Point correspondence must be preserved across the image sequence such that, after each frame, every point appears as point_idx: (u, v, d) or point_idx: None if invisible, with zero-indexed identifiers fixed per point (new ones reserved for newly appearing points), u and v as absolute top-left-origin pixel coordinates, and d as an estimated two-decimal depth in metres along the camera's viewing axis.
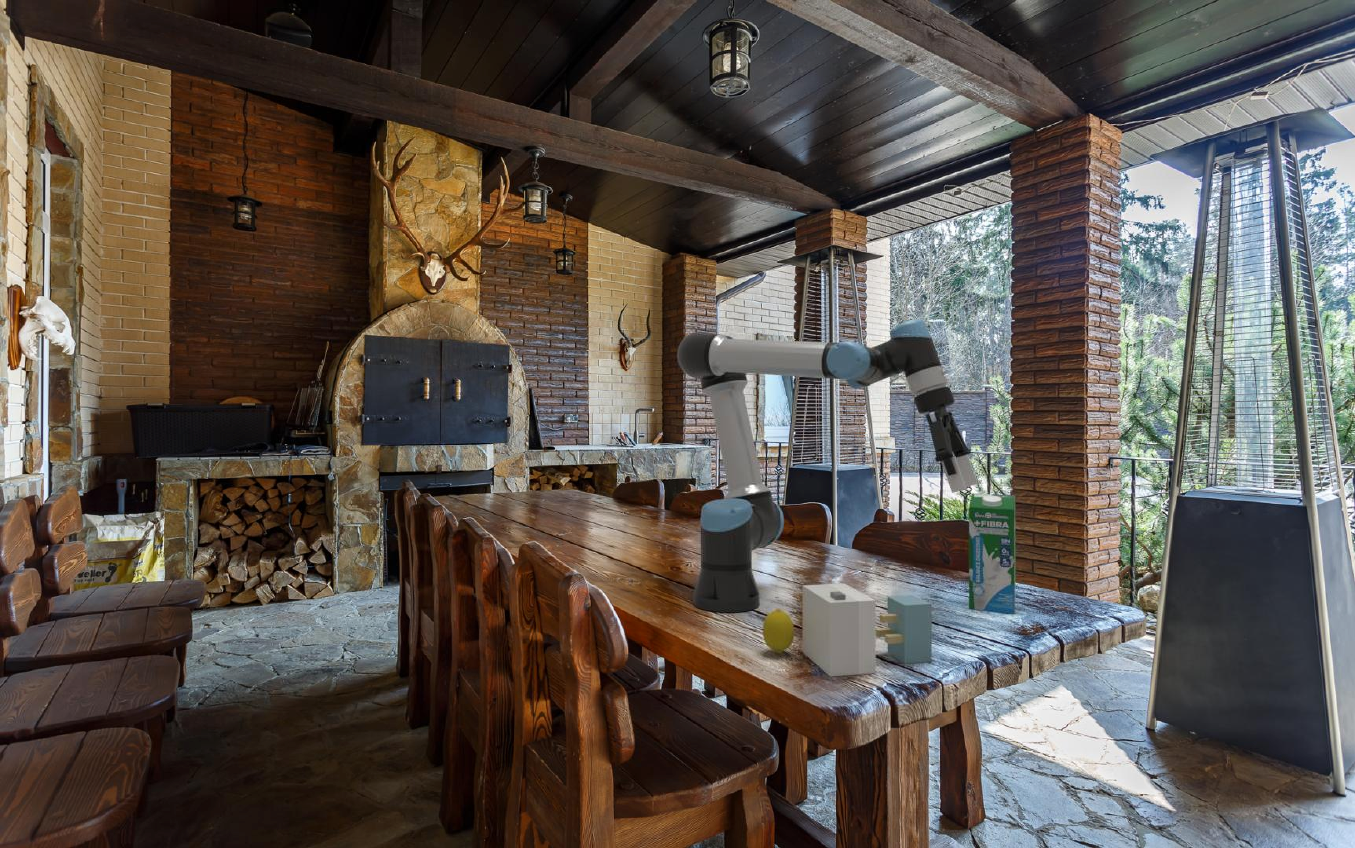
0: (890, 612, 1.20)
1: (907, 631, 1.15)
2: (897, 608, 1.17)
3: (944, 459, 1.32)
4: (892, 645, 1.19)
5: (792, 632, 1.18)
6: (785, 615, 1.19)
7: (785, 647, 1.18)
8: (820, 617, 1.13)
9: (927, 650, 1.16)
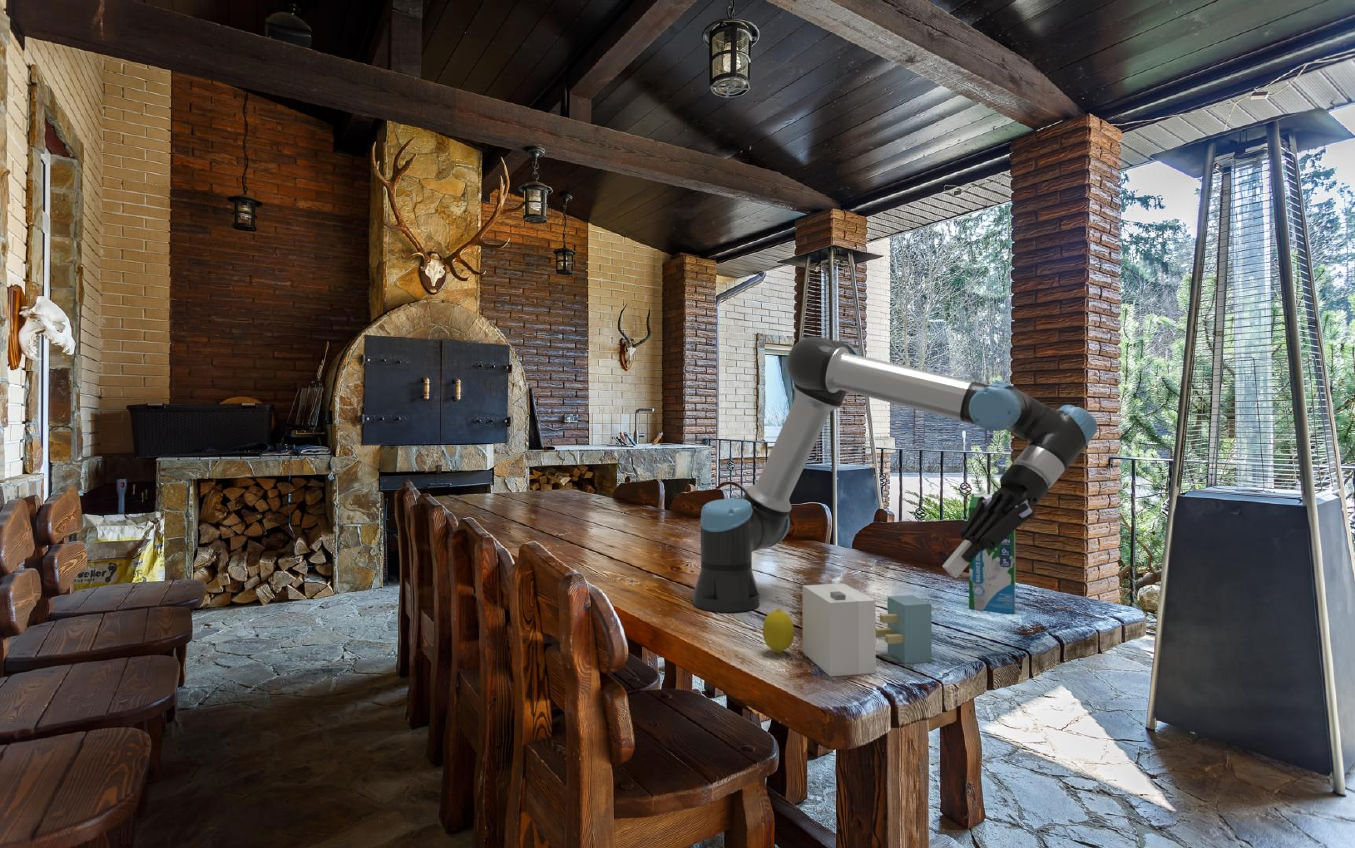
0: (890, 612, 1.20)
1: (907, 631, 1.15)
2: (897, 608, 1.17)
3: (978, 545, 1.18)
4: (892, 645, 1.19)
5: (792, 632, 1.18)
6: (785, 615, 1.19)
7: (785, 647, 1.18)
8: (820, 617, 1.13)
9: (927, 650, 1.16)
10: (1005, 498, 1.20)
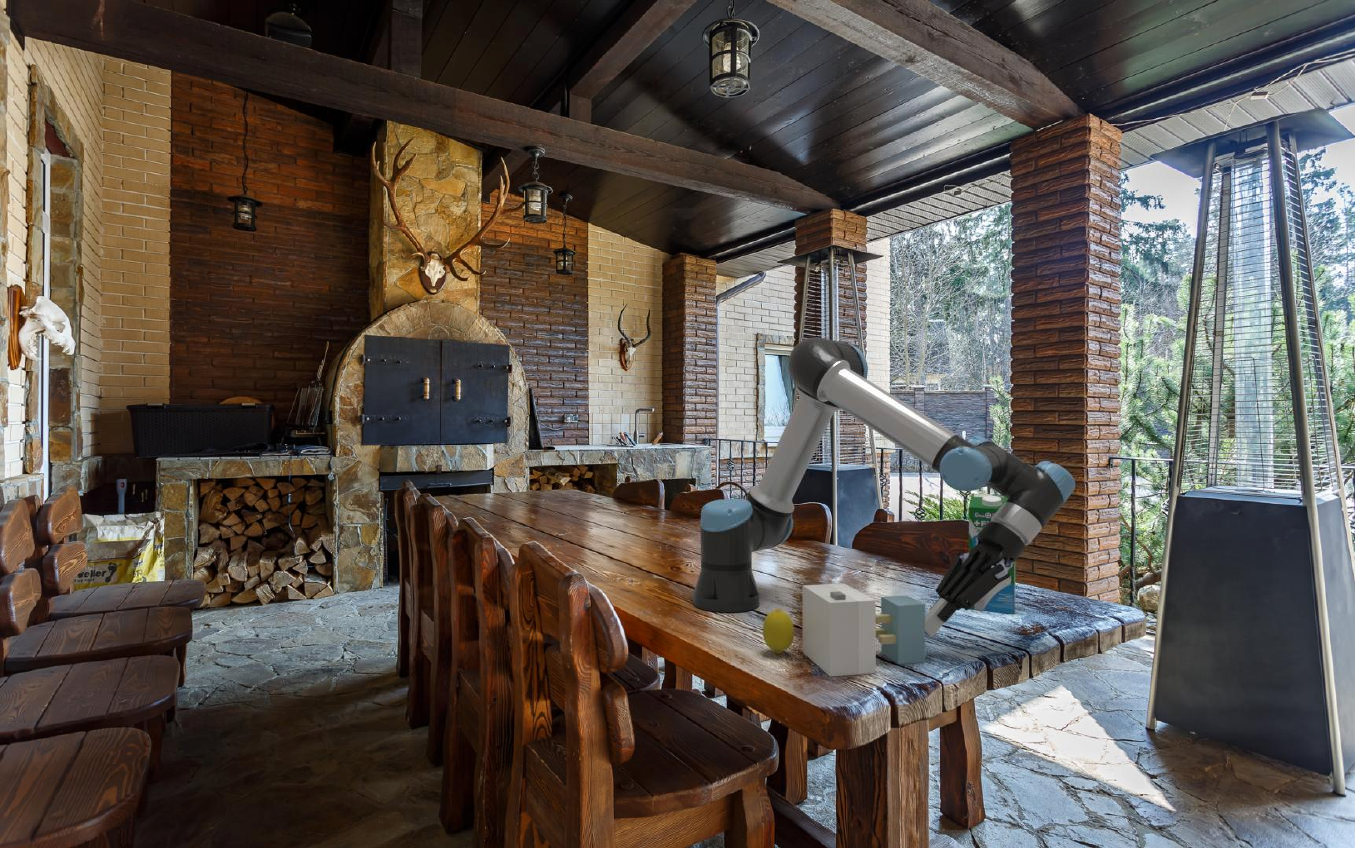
0: (884, 612, 1.19)
1: (900, 632, 1.15)
2: (890, 608, 1.17)
3: (954, 605, 1.17)
4: (886, 646, 1.19)
5: (792, 632, 1.18)
6: (785, 615, 1.19)
7: (785, 647, 1.18)
8: (820, 617, 1.13)
9: (921, 650, 1.15)
10: (981, 557, 1.19)
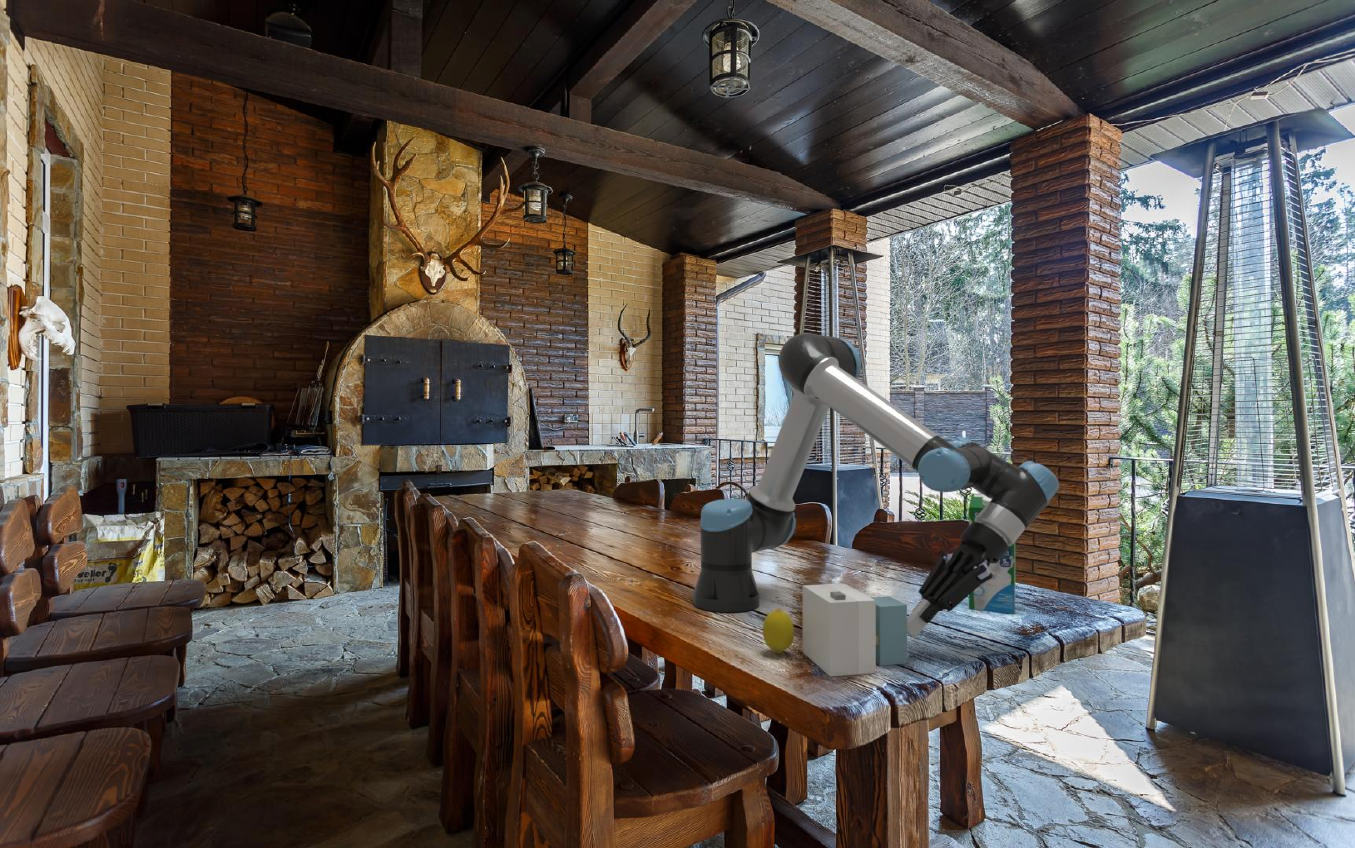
0: None
1: (882, 633, 1.14)
2: None
3: (936, 606, 1.17)
4: None
5: (792, 632, 1.18)
6: (785, 615, 1.19)
7: (785, 647, 1.18)
8: (820, 617, 1.13)
9: (903, 652, 1.15)
10: (964, 557, 1.18)
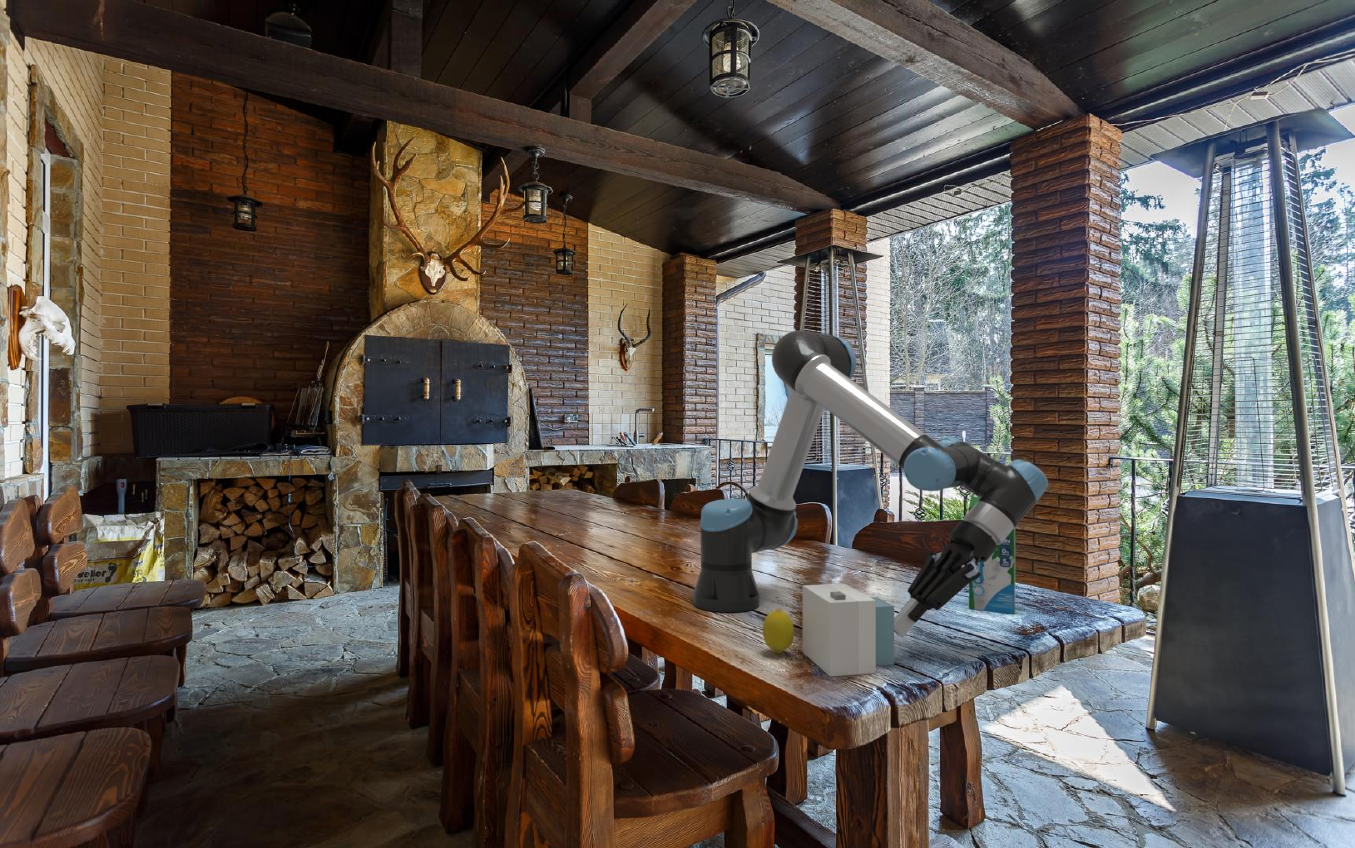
0: None
1: None
2: None
3: (924, 605, 1.16)
4: None
5: (792, 632, 1.18)
6: (785, 615, 1.19)
7: (785, 647, 1.18)
8: (820, 617, 1.13)
9: (890, 653, 1.14)
10: (953, 556, 1.18)
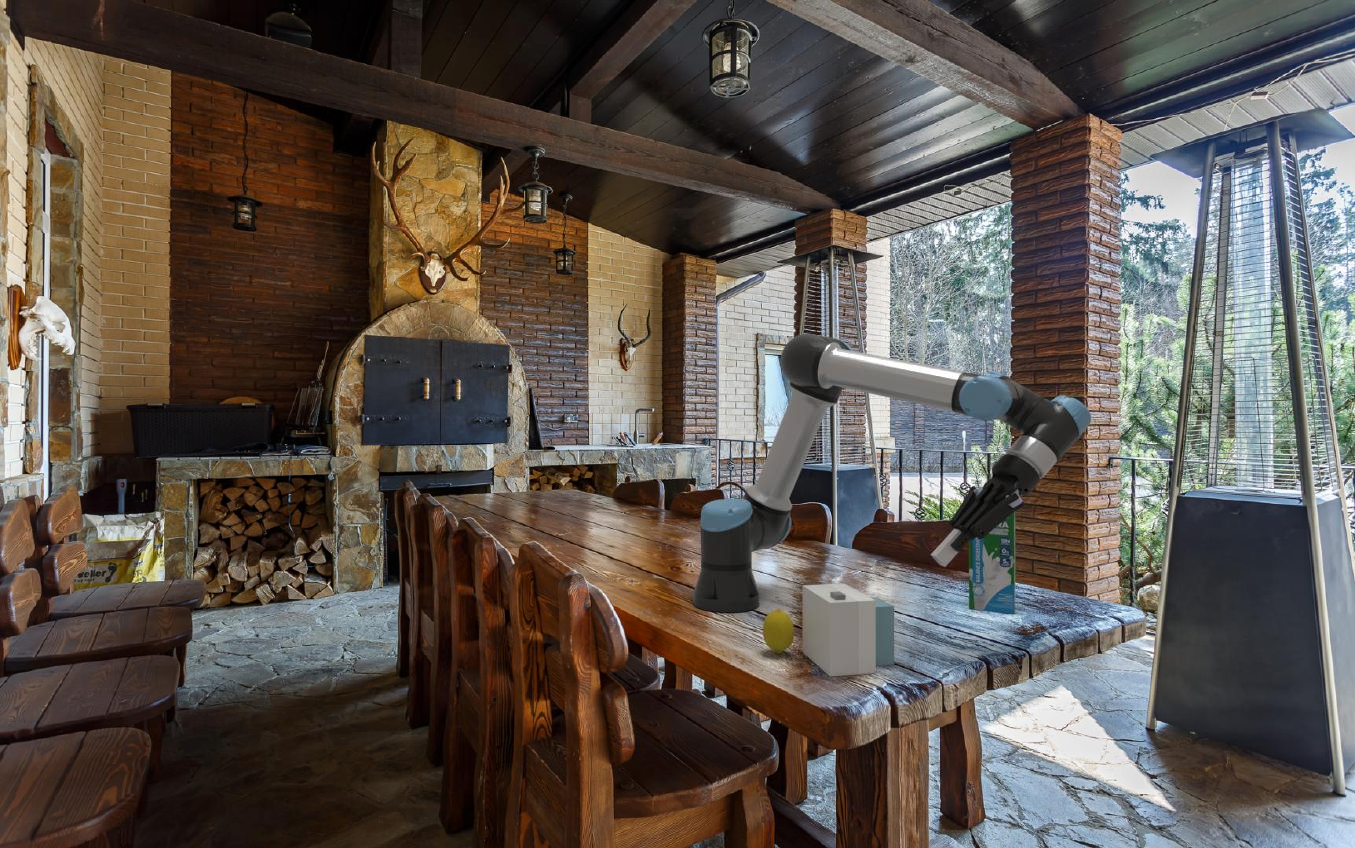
0: None
1: None
2: None
3: (968, 534, 1.18)
4: None
5: (792, 632, 1.18)
6: (785, 615, 1.19)
7: (785, 647, 1.18)
8: (820, 617, 1.13)
9: (890, 653, 1.14)
10: (996, 488, 1.19)
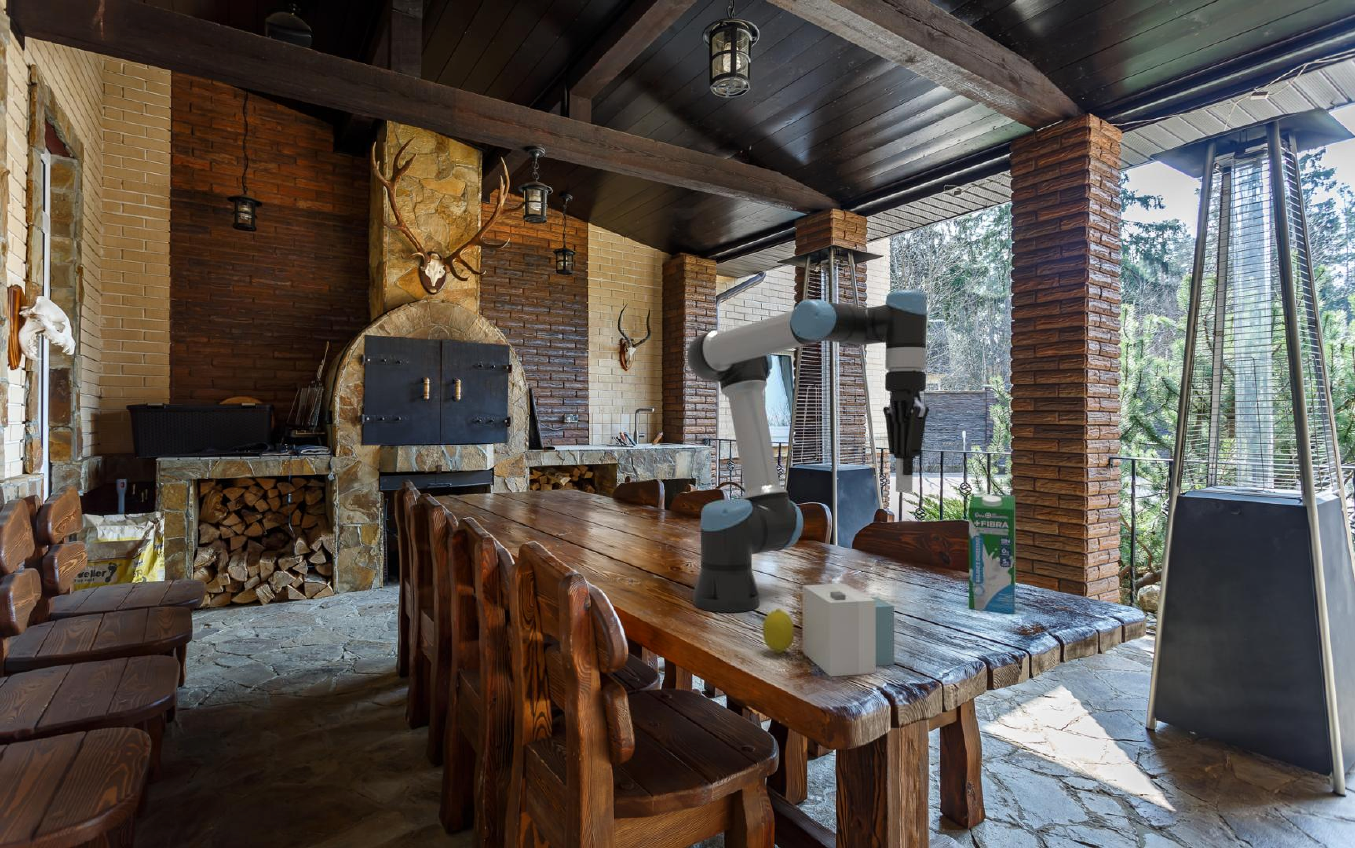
0: None
1: None
2: None
3: (908, 458, 1.29)
4: None
5: (792, 632, 1.18)
6: (785, 615, 1.19)
7: (785, 647, 1.18)
8: (820, 617, 1.13)
9: (890, 653, 1.14)
10: (900, 407, 1.29)
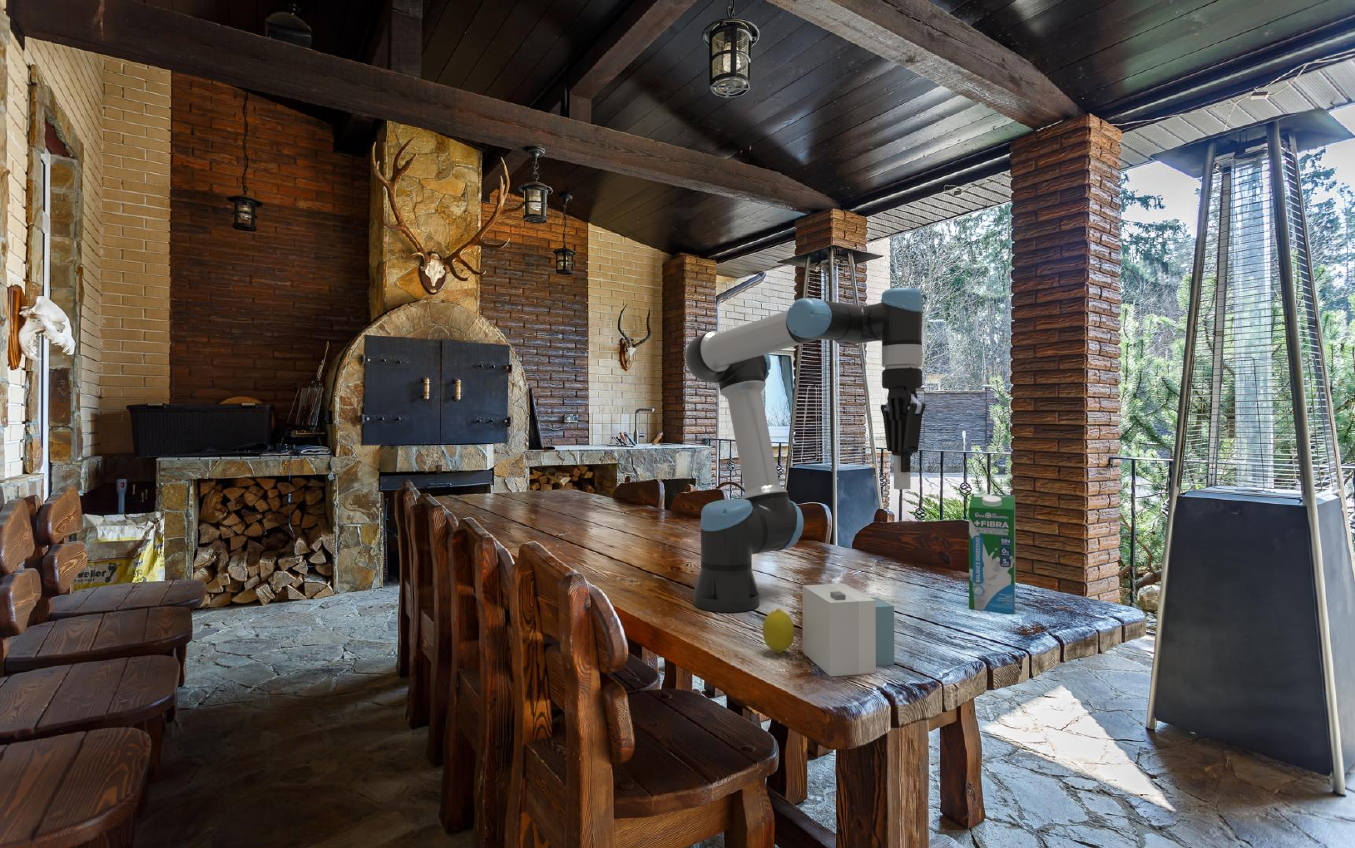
0: None
1: None
2: None
3: (906, 455, 1.29)
4: None
5: (792, 632, 1.18)
6: (785, 615, 1.19)
7: (785, 647, 1.18)
8: (820, 617, 1.13)
9: (890, 653, 1.14)
10: (897, 404, 1.29)
